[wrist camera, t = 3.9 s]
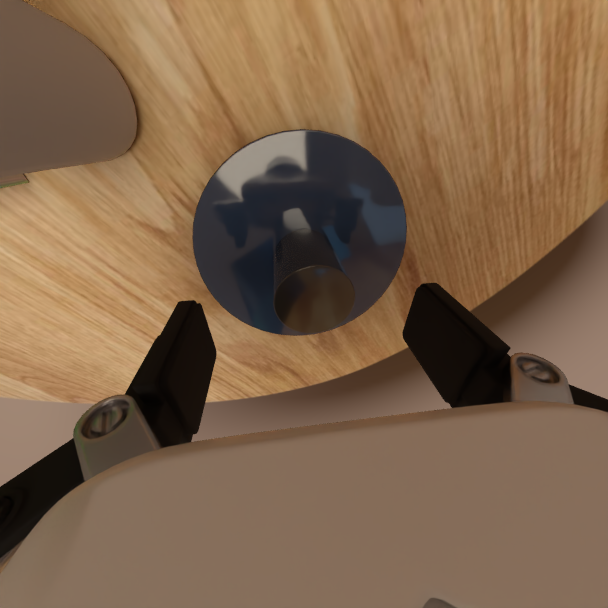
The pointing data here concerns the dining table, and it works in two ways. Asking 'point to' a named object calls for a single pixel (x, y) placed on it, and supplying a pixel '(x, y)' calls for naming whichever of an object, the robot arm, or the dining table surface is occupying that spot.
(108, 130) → the beverage can
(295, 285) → the lid
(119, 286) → the dining table surface
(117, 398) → the robot arm
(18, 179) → the flat green box
